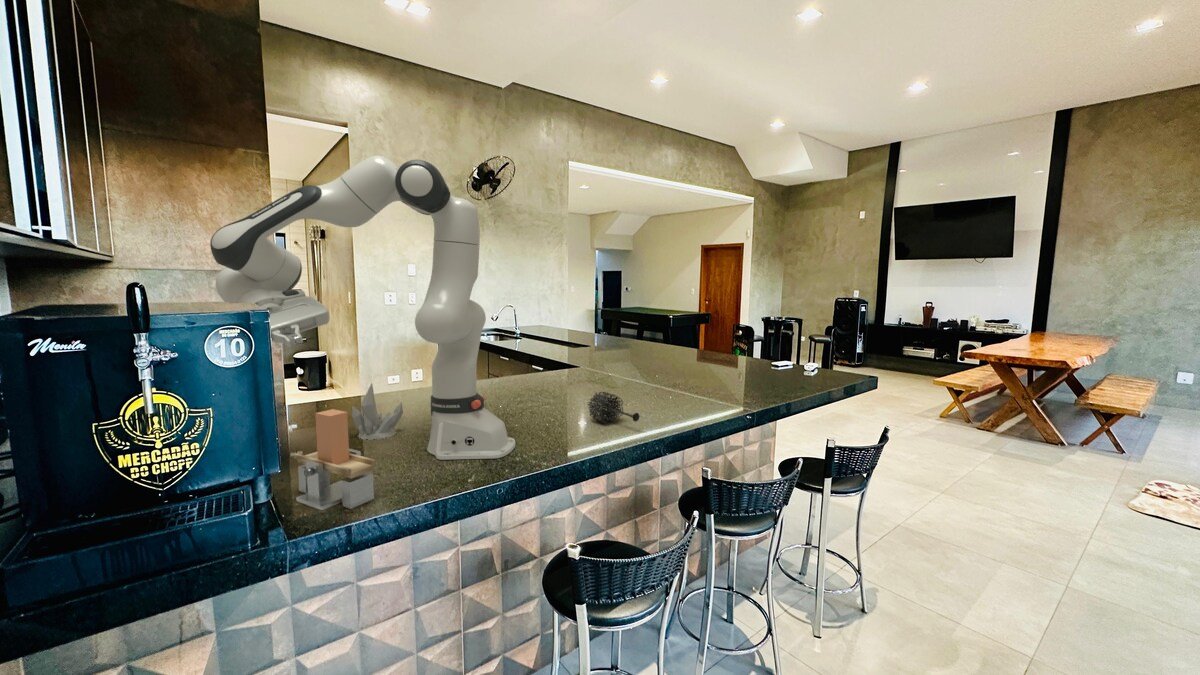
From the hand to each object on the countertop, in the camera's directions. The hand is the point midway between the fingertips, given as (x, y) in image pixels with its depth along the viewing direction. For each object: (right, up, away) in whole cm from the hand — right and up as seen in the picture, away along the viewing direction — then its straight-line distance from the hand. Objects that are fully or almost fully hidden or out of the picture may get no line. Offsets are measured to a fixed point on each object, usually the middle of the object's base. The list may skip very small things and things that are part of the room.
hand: (295, 342), depth 102 cm
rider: (+12, -24, -6) cm, 27 cm away
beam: (+12, -24, -6) cm, 28 cm away
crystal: (+2, -27, +34) cm, 43 cm away
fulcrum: (+12, -31, -6) cm, 34 cm away
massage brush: (+69, -26, +46) cm, 87 cm away
